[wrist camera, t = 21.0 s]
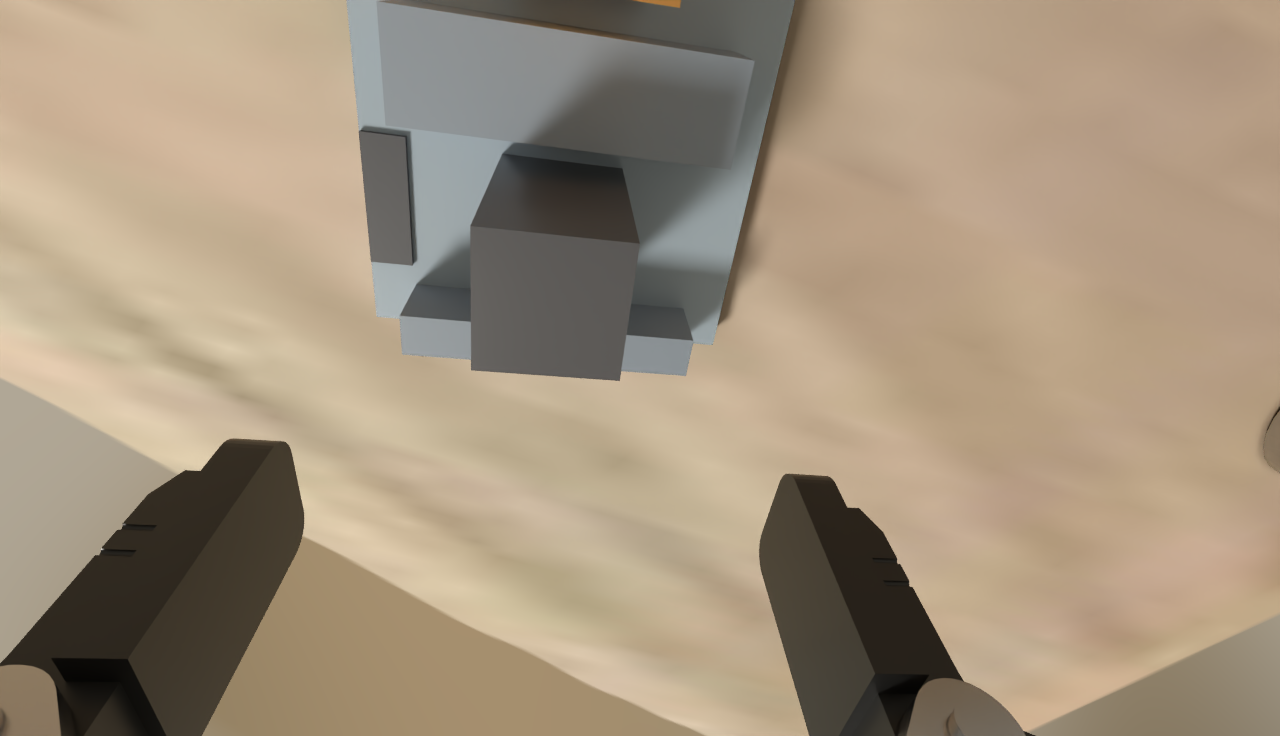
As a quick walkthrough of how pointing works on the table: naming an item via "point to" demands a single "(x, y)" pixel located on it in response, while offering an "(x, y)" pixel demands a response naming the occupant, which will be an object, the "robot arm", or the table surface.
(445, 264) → the comb board
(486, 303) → the black plug
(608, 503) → the table surface
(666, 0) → the orange plug
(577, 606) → the table surface
